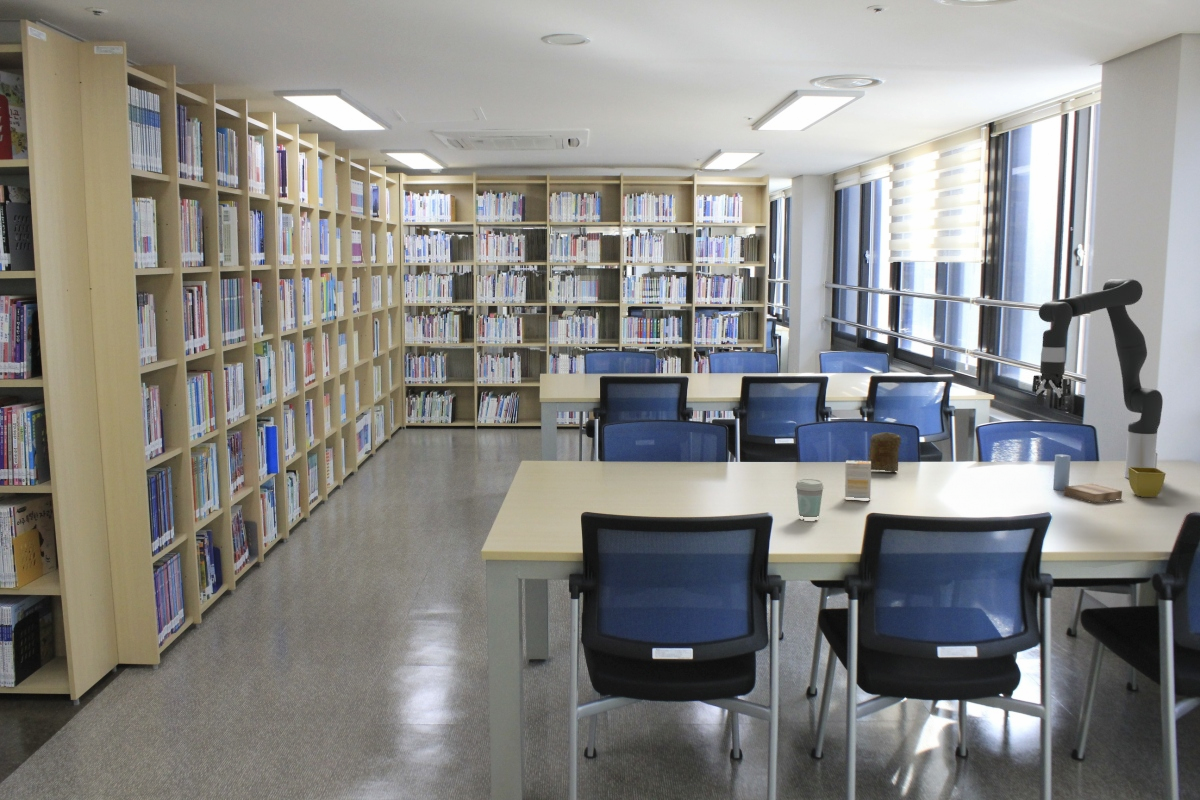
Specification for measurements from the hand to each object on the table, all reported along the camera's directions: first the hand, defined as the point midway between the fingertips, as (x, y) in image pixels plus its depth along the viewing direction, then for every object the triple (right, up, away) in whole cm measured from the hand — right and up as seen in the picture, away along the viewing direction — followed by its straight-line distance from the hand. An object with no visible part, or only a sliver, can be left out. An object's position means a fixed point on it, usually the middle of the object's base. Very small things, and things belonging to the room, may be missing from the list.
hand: (1050, 406), depth 314 cm
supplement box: (-69, -32, -8) cm, 76 cm away
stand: (+10, -31, -8) cm, 33 cm away
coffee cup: (-91, -35, -32) cm, 102 cm away
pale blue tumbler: (+6, -29, +4) cm, 30 cm away
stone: (-47, -25, +35) cm, 64 cm away
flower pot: (+29, -30, -7) cm, 42 cm away
